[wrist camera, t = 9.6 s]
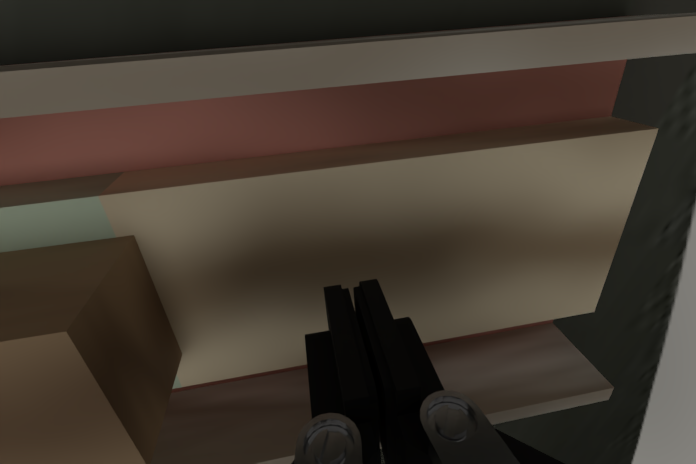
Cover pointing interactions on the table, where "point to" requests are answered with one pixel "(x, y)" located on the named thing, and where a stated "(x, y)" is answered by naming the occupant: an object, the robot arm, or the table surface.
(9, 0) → the table surface
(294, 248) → the trap box
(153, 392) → the walnut block
